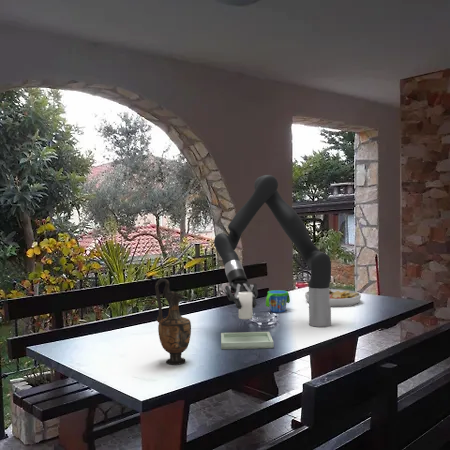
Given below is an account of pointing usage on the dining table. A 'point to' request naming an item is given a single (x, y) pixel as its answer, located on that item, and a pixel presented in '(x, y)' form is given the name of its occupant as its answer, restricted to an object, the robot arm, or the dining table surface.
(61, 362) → the dining table surface
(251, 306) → the white upright cylinder
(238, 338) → the tray
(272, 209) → the robot arm
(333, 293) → the plate of food
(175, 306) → the vase
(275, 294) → the snack cup
